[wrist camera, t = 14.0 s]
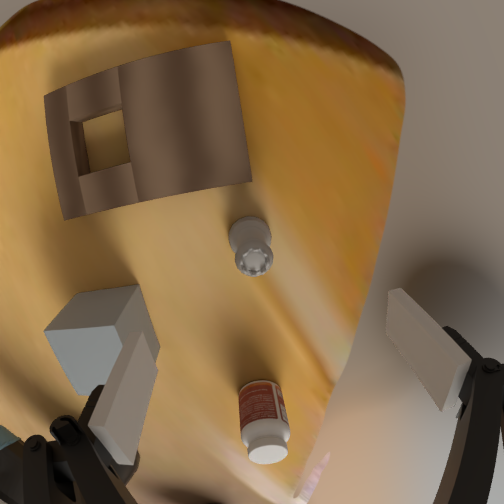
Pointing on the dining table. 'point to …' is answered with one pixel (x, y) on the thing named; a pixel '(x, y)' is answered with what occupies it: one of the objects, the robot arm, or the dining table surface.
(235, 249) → the rook chess piece
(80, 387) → the block
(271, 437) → the pill bottle
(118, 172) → the socket board
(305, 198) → the dining table surface
